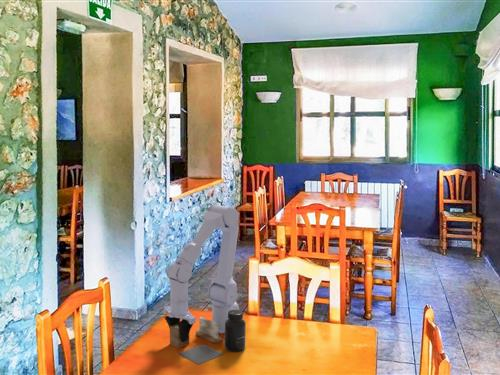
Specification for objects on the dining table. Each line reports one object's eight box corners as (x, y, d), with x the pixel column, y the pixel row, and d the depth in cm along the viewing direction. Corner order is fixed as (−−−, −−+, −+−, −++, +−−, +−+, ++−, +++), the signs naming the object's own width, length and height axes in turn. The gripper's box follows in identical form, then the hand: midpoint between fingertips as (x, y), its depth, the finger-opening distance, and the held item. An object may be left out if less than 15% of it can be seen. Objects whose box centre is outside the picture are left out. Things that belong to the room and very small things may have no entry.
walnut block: (180, 339, 172) (180, 322, 171) (189, 343, 169) (189, 326, 168) (169, 343, 169) (169, 326, 168) (178, 347, 166) (178, 329, 165)
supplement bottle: (243, 353, 162) (243, 316, 161) (222, 351, 163) (222, 315, 162) (247, 344, 169) (247, 309, 167) (227, 342, 170) (227, 307, 169)
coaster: (202, 344, 168) (202, 344, 168) (223, 354, 161) (223, 353, 161) (178, 353, 161) (178, 353, 161) (198, 364, 154) (198, 363, 154)
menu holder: (195, 334, 176) (195, 317, 176) (202, 332, 178) (202, 315, 178) (215, 343, 169) (215, 325, 169) (221, 340, 171) (221, 323, 171)
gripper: (156, 296, 169) (156, 335, 171) (183, 307, 159) (183, 349, 161) (173, 291, 174) (173, 330, 176) (200, 302, 164) (200, 342, 166)
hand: (179, 338), depth 169 cm, fingers closed on walnut block, 4 cm apart
